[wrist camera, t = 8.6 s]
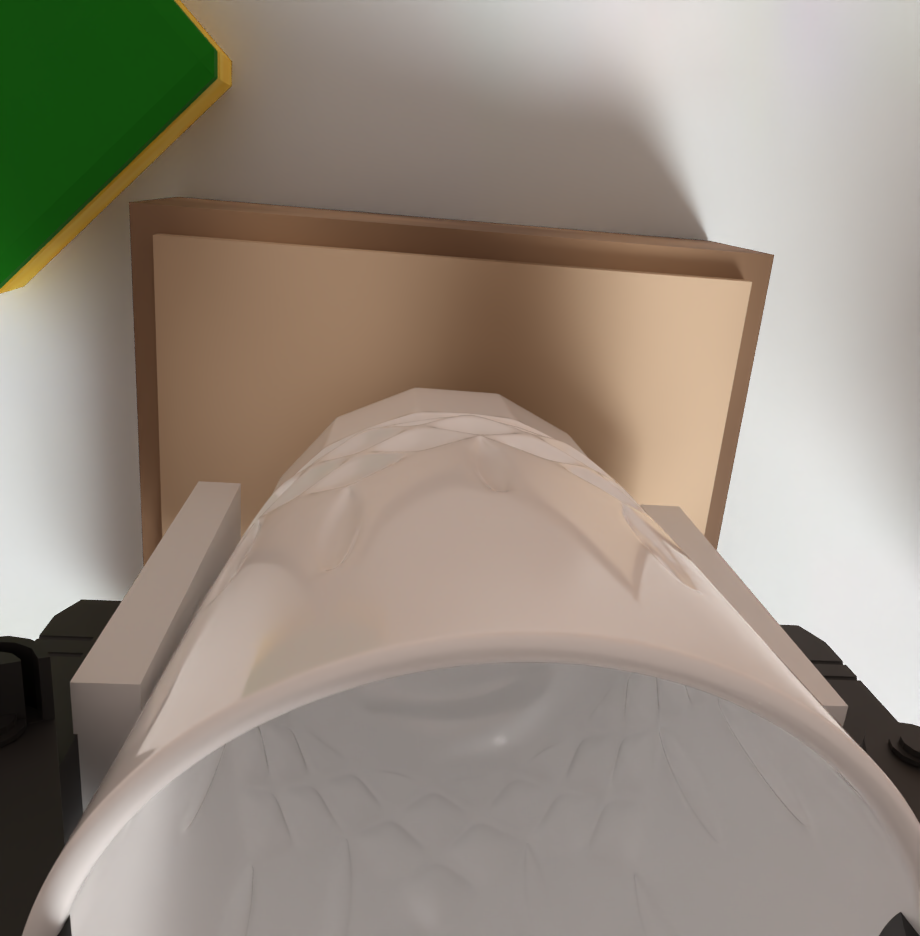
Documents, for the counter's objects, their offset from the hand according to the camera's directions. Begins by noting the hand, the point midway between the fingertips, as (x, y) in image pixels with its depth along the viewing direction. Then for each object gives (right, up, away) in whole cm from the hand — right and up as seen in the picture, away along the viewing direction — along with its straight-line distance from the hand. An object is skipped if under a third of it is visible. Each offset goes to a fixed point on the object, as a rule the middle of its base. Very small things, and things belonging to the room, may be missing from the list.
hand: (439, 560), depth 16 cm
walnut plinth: (0, +2, +5) cm, 5 cm away
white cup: (0, 0, 0) cm, 0 cm away
